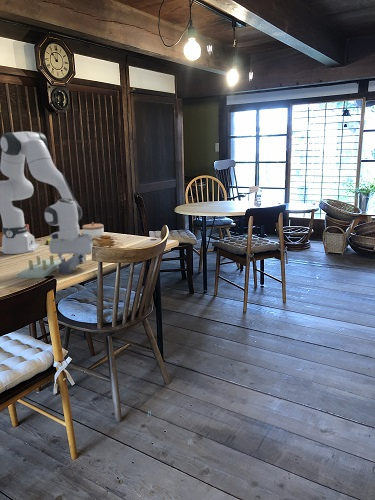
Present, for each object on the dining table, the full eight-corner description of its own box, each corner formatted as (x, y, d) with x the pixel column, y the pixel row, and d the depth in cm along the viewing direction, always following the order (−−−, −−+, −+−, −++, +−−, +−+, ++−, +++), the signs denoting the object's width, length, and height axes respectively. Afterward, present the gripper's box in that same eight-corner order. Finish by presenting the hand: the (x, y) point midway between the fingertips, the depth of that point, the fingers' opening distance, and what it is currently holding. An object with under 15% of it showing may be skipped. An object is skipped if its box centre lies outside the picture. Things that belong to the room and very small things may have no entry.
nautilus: (125, 246, 231) (120, 254, 217) (88, 244, 232) (81, 252, 217) (125, 233, 229) (120, 240, 214) (88, 231, 229) (80, 238, 215)
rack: (41, 262, 200) (40, 251, 199) (64, 262, 199) (63, 251, 198) (17, 277, 177) (15, 265, 176) (43, 277, 176) (41, 265, 175)
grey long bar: (75, 260, 202) (75, 252, 201) (86, 260, 202) (85, 252, 201) (59, 273, 182) (58, 265, 181) (70, 273, 181) (69, 265, 180)
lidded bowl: (107, 237, 252) (105, 220, 249) (101, 242, 240) (99, 224, 237) (87, 237, 253) (86, 220, 251) (80, 242, 241) (78, 224, 238)
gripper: (93, 232, 190) (96, 260, 193) (52, 232, 192) (55, 260, 195) (89, 235, 184) (92, 264, 187) (46, 235, 186) (49, 264, 189)
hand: (72, 262), depth 191 cm, fingers open, 8 cm apart
